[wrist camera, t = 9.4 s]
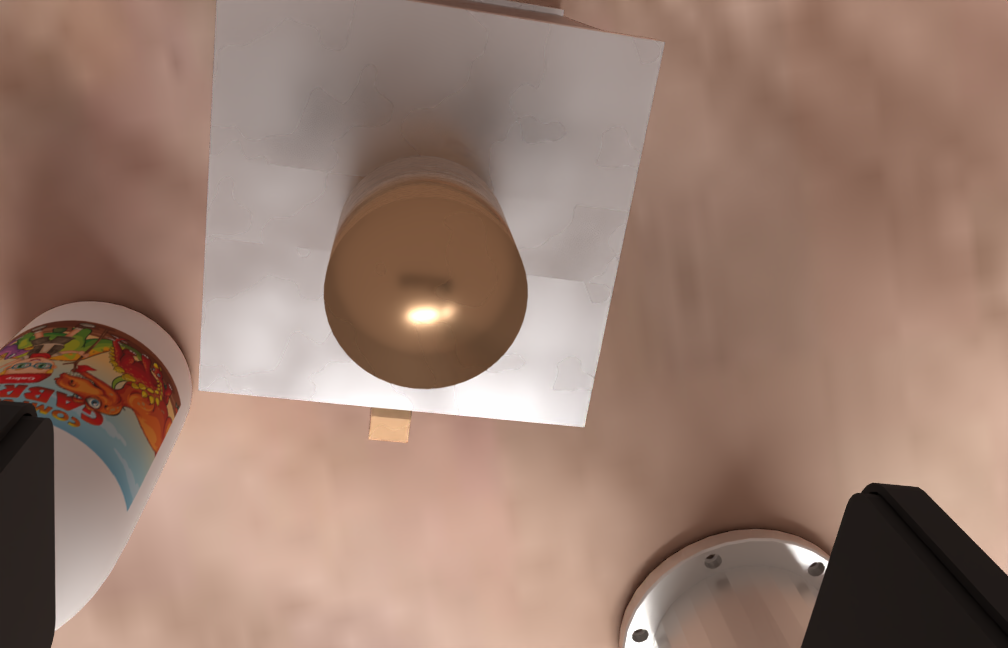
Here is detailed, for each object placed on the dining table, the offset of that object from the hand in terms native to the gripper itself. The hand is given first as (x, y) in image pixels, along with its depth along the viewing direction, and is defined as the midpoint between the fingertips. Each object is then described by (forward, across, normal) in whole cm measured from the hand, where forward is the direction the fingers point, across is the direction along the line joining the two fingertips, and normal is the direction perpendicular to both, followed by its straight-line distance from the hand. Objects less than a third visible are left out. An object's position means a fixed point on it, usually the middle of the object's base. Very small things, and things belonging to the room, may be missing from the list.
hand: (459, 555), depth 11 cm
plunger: (+28, 0, -1) cm, 28 cm away
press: (+30, +1, +1) cm, 30 cm away
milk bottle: (+30, +12, +12) cm, 35 cm away
